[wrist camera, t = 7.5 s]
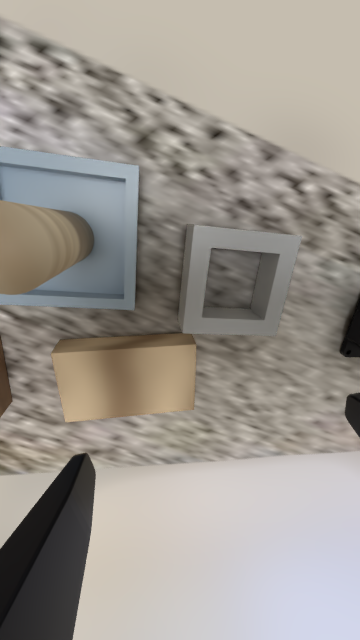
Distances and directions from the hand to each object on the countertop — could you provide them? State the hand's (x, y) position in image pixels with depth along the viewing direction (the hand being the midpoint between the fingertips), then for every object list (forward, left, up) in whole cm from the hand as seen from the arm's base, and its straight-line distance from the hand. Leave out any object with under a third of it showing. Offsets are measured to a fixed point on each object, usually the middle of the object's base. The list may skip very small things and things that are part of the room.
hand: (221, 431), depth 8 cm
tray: (+7, -5, -12) cm, 15 cm away
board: (+3, +5, -12) cm, 13 cm away
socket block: (-4, -3, -12) cm, 13 cm away
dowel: (+7, -5, -11) cm, 14 cm away
